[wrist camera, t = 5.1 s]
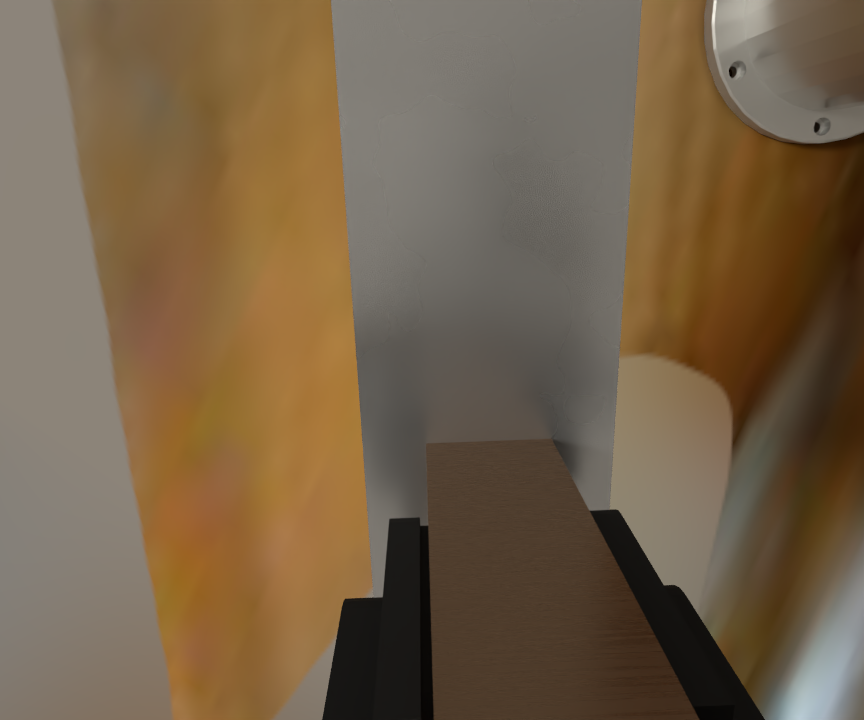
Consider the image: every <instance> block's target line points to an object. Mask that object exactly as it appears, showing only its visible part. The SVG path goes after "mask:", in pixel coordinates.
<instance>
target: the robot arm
mask: <svg viewBox="0 0 864 720" xmlns="http://www.w3.org/2000/svg"><path fill="white" fill-rule="evenodd" d="M704 43H705V49H706V55H707V61H708V66H709V69H710V71H711V74H712V77H713V80H714V82H715V85H716V88H717V89H718V91H719V93H720V94H721V96H722V98H723V99H724V101H725V102H726V104H727V106H728V107H729V108H730V109H731V110H732V111H733V112H734V113H735V114H736V115H737V116H738V117H739V118H740V119H741V121H742V122H743V123H745V124H746V125H748V126H750V127H751V128H753V129H754V130H756V131H757V132H759V133H760V134H762V135H765V136H768V137H771V138H773V139H776V140H779V141H782V142H790V143H798V144H814V143H826V142H832V141H837V140H843V139H848V138H850V137H853V136H855V135H858V134H861V133H863V132H864V0H707V2H706V8H705V14H704ZM729 68H730V69H731V70H732V77H730V76H729ZM814 126H815V129H814ZM590 513H591V515H592V517H593V518H594V520H595V522H596V524H597V526H598V528H599V530H600V532H601V534H602V536H603V537H604V539H605V541H606V543H607V545H608V547H609V549H610V551H611V553H612V555H613V556H614V558H615V560H616V562H617V564H618V566H619V568H620V570H621V572H622V574H623V575H624V577H625V579H626V581H627V583H628V585H629V587H630V589H631V591H632V593H633V594H634V596H635V598H636V600H637V602H638V604H639V606H640V608H641V610H642V612H643V613H644V615H645V617H646V619H647V621H648V623H649V625H650V627H651V629H652V631H653V632H654V634H655V636H656V638H657V640H658V642H659V644H660V646H661V648H662V650H663V651H664V653H665V655H666V657H667V659H668V661H669V663H670V665H671V667H672V669H673V670H674V672H675V674H676V676H677V678H678V680H679V682H680V684H681V686H682V688H683V689H684V691H685V693H686V695H687V697H688V699H689V701H690V703H691V705H692V707H693V708H694V710H695V712H696V714H697V716H698V718H699V720H765V719H764V718H763V716H762V714H761V713H760V711H759V710H758V708H757V707H756V705H755V703H754V702H753V700H752V699H751V697H750V696H749V694H748V692H747V691H746V689H745V688H744V686H743V685H742V683H741V681H740V680H739V678H738V677H737V675H736V674H735V672H734V670H733V669H732V667H731V666H730V664H729V663H728V661H727V659H726V658H725V656H724V655H723V653H722V652H721V650H720V648H719V647H718V645H717V644H716V642H715V641H714V639H713V637H712V636H711V634H710V633H709V631H708V630H707V628H706V626H705V625H704V623H703V622H702V620H701V619H700V617H699V615H698V614H697V612H696V611H695V609H694V608H693V606H692V604H691V603H690V601H689V600H688V598H687V597H686V595H685V594H684V592H683V591H682V590H681V589H680V588H679V587H677V586H675V585H666V586H664V585H663V583H662V582H661V580H660V578H659V577H658V575H657V573H656V572H655V570H654V568H653V567H652V565H651V563H650V562H649V560H648V558H647V557H646V555H645V553H644V552H643V550H642V548H641V547H640V545H639V543H638V542H637V540H636V538H635V537H634V535H633V533H632V532H631V530H630V528H629V527H628V525H627V523H626V522H625V520H624V518H623V517H622V515H621V513H620V512H619V511H618V510H591V511H590ZM322 720H434V706H433V672H432V637H431V602H430V568H429V533H428V525H426V526H420V517H416V518H391V519H389V527H388V539H387V551H386V563H385V575H384V587H383V597H376V598H352V599H345V600H344V602H343V606H342V611H341V616H340V622H339V628H338V633H337V639H336V645H335V651H334V656H333V662H332V668H331V674H330V679H329V685H328V691H327V696H326V702H325V708H324V714H323V719H322Z"/></svg>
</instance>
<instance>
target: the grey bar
mask: <svg viewBox="0 0 864 720" xmlns="http://www.w3.org/2000/svg"><path fill="white" fill-rule="evenodd" d="M331 6H332V20H333V34H334V48H335V62H336V76H337V90H338V104H339V118H340V132H341V146H342V160H343V174H344V188H345V202H346V216H347V230H348V244H349V258H350V273H351V287H352V301H353V315H354V329H355V343H356V357H357V371H358V385H359V399H360V413H361V427H362V441H363V455H364V469H365V483H366V497H367V511H368V525H369V539H370V553H371V567H372V581H373V595H374V598H376V597H383V587H384V575H385V563H386V551H387V539H388V527H389V519H391V518H416V517H420V526H426V525H428V533H429V568H430V602H431V637H432V672H433V706H434V720H699V718H698V716H697V714H696V712H695V710H694V708H693V707H692V705H691V703H690V701H689V699H688V697H687V695H686V693H685V691H684V689H683V688H682V686H681V684H680V682H679V680H678V678H677V676H676V674H675V672H674V670H673V669H672V667H671V665H670V663H669V661H668V659H667V657H666V655H665V653H664V651H663V650H662V648H661V646H660V644H659V642H658V640H657V638H656V636H655V634H654V632H653V631H652V629H651V627H650V625H649V623H648V621H647V619H646V617H645V615H644V613H643V612H642V610H641V608H640V606H639V604H638V602H637V600H636V598H635V596H634V594H633V593H632V591H631V589H630V587H629V585H628V583H627V581H626V579H625V577H624V575H623V574H622V572H621V570H620V568H619V566H618V564H617V562H616V560H615V558H614V556H613V555H612V553H611V551H610V549H609V547H608V545H607V543H606V541H605V539H604V537H603V536H602V534H601V532H600V530H599V528H598V526H597V524H596V522H595V520H594V518H593V517H592V515H591V513H590V511H591V510H609V508H610V491H611V477H612V460H613V445H614V429H615V413H616V398H617V382H618V367H619V351H620V335H621V320H622V304H623V288H624V273H625V257H626V241H627V225H628V210H629V194H630V178H631V163H632V147H633V131H634V116H635V100H636V84H637V68H638V53H639V37H640V21H641V6H642V0H331Z"/></svg>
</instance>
